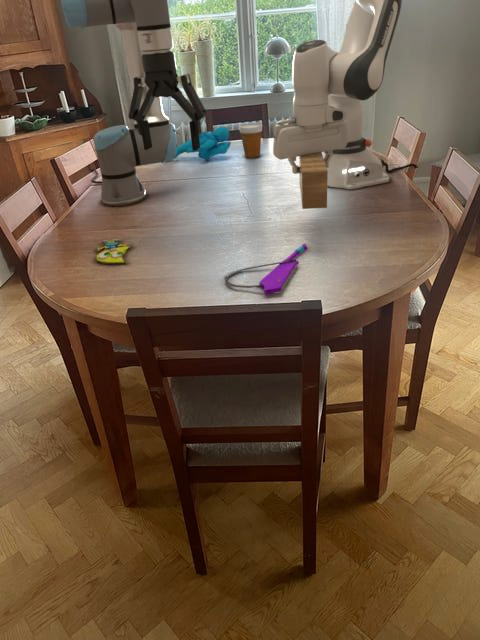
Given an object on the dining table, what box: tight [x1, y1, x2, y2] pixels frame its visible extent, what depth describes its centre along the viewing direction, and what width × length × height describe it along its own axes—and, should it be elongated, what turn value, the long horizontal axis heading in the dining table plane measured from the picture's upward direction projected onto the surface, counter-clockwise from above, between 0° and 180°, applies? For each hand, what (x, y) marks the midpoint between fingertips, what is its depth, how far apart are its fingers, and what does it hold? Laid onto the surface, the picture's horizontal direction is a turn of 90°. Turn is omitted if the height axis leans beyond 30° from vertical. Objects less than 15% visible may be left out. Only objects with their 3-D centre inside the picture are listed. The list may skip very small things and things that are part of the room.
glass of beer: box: [239, 123, 263, 159], centre depth 199 cm, size 10×10×12 cm
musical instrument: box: [224, 243, 308, 296], centre depth 113 cm, size 24×2×20 cm
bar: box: [298, 152, 328, 210], centre depth 121 cm, size 23×6×9 cm, turn 176°
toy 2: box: [173, 126, 232, 161], centre depth 202 cm, size 17×11×30 cm
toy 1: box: [95, 238, 133, 265], centre depth 129 cm, size 10×1×15 cm
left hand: (172, 149), depth 120 cm, fingers open, 13 cm apart
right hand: (310, 170), depth 129 cm, fingers closed on bar, 7 cm apart
